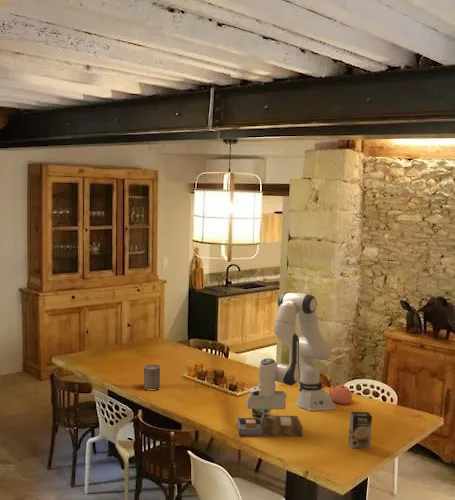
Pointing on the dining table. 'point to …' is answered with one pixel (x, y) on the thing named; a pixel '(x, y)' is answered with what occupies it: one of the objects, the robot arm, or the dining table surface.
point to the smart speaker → (152, 376)
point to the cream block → (285, 421)
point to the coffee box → (360, 430)
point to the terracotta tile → (250, 423)
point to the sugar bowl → (340, 394)
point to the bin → (250, 431)
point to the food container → (258, 412)
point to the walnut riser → (281, 426)
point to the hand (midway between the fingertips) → (265, 416)
